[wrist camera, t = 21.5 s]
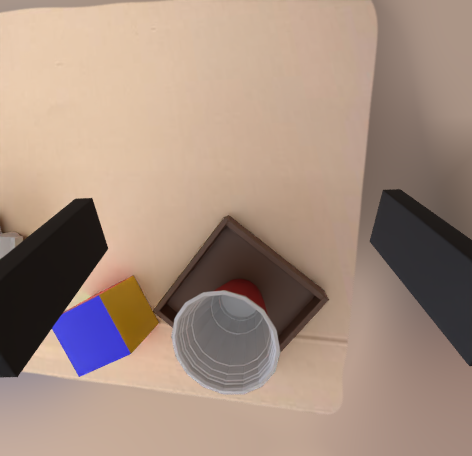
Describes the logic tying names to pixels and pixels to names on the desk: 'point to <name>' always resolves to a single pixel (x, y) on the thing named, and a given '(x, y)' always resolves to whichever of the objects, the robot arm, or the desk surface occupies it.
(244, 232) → the tray
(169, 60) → the desk surface
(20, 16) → the desk surface
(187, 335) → the plastic cup
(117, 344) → the cube
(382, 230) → the robot arm
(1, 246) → the bunny figurine
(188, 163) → the desk surface
